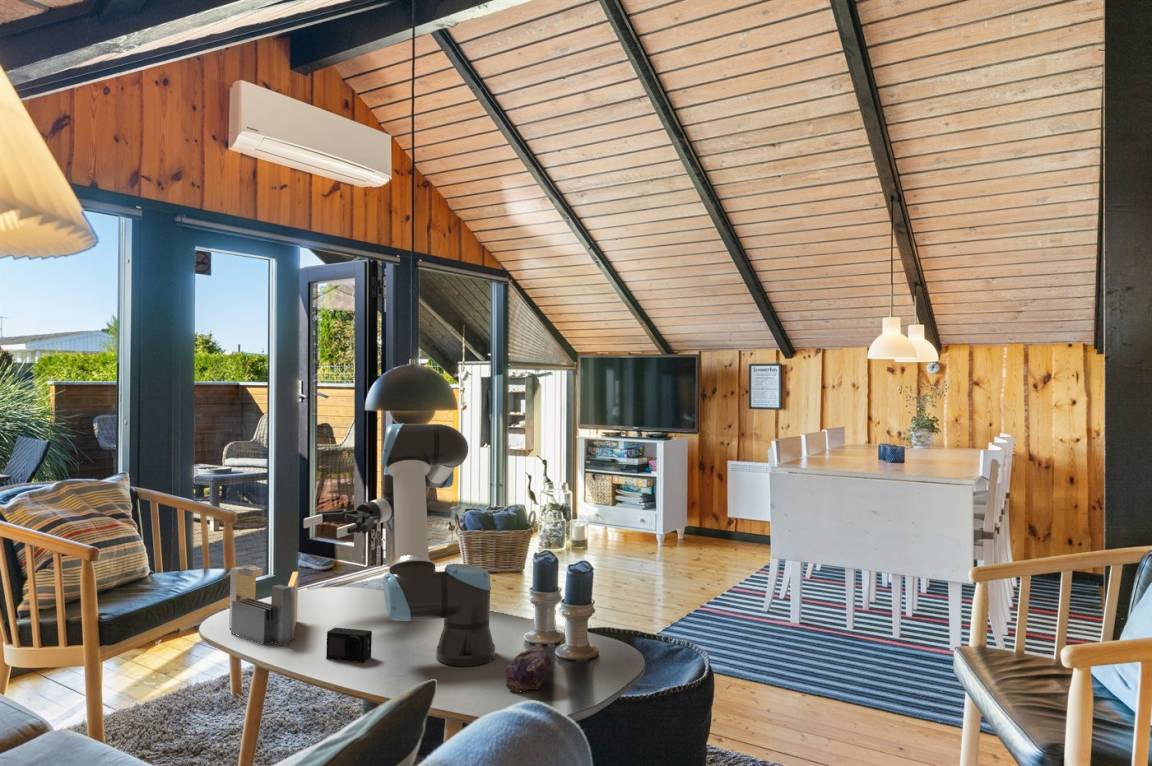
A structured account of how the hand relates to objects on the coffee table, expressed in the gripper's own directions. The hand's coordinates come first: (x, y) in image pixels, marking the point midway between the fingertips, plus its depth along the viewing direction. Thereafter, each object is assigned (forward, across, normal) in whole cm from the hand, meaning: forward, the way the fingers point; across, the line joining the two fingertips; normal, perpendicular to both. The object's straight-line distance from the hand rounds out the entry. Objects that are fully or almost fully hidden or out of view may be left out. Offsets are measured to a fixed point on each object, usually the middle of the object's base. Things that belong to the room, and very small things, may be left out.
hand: (320, 528), depth 230 cm
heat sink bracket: (+19, +2, -26) cm, 32 cm away
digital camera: (+20, -32, -23) cm, 44 cm away
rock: (+10, -81, -19) cm, 84 cm away
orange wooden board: (+12, -2, -26) cm, 29 cm away
